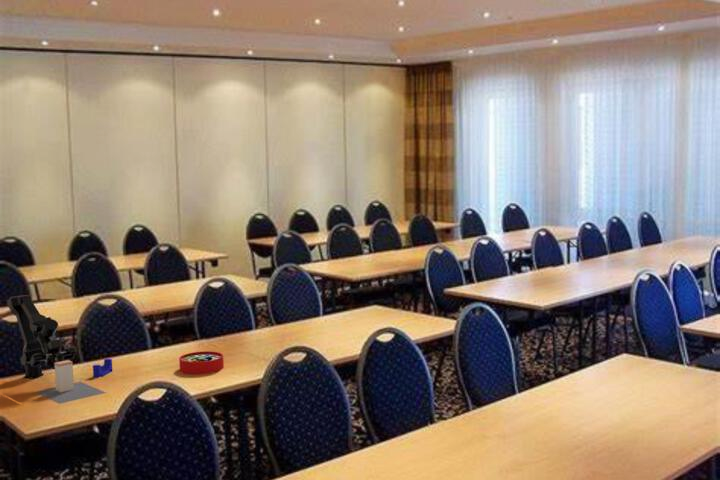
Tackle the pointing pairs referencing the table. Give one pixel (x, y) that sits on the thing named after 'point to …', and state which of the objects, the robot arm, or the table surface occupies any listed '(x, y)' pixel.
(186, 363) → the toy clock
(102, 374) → the cable clip
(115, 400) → the table surface
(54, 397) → the rubber mat
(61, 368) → the cream block
